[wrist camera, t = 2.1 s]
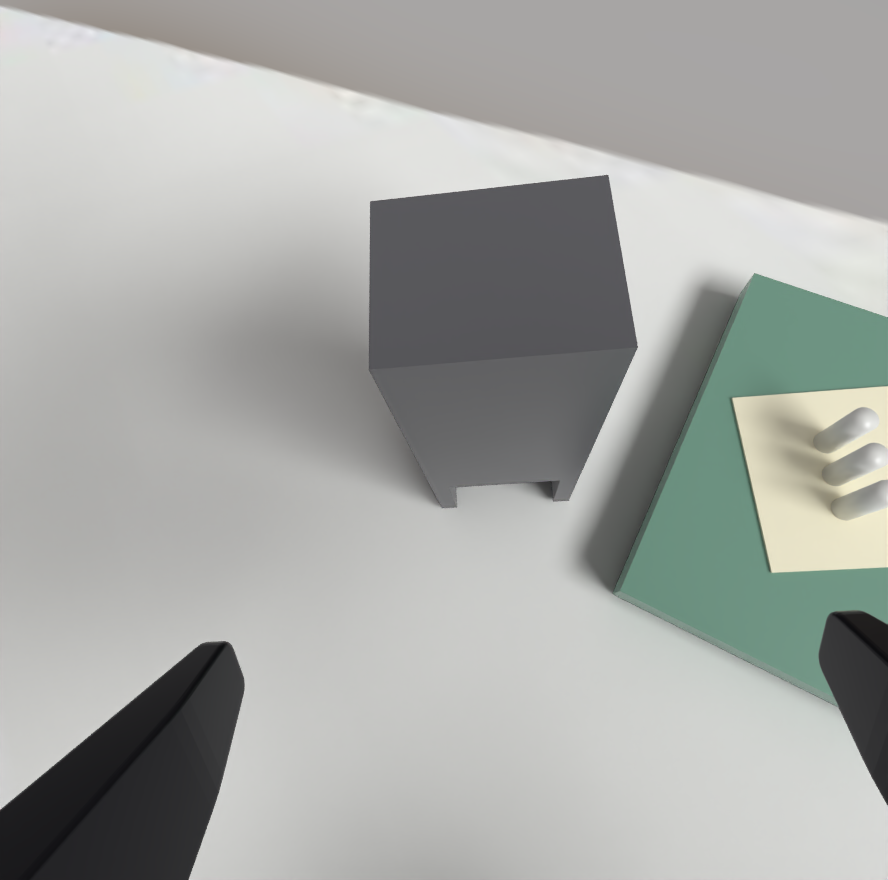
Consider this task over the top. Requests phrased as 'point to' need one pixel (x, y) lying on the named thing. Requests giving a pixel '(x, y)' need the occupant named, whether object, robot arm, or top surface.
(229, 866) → the top surface
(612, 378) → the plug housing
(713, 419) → the board
